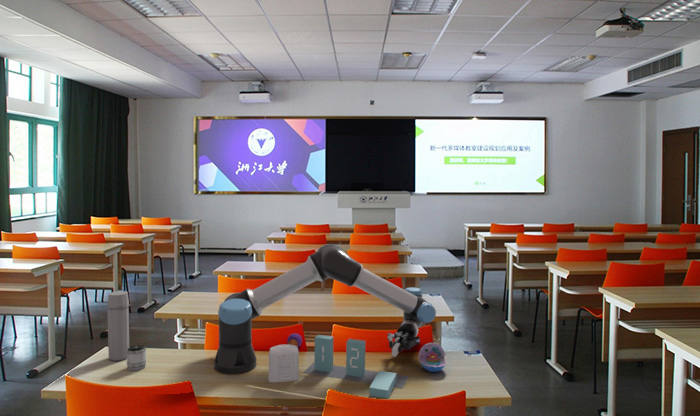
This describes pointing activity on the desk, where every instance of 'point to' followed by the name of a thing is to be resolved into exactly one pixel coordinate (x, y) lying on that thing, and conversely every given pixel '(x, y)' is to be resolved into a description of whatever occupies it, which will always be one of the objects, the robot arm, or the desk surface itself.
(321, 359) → the tile
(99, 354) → the desk surface
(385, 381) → the tile
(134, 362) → the camera lens
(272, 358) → the photo printer
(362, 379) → the mat
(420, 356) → the cell model
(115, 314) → the water bottle
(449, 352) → the desk surface
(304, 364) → the desk surface
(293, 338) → the kendama
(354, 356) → the tile
